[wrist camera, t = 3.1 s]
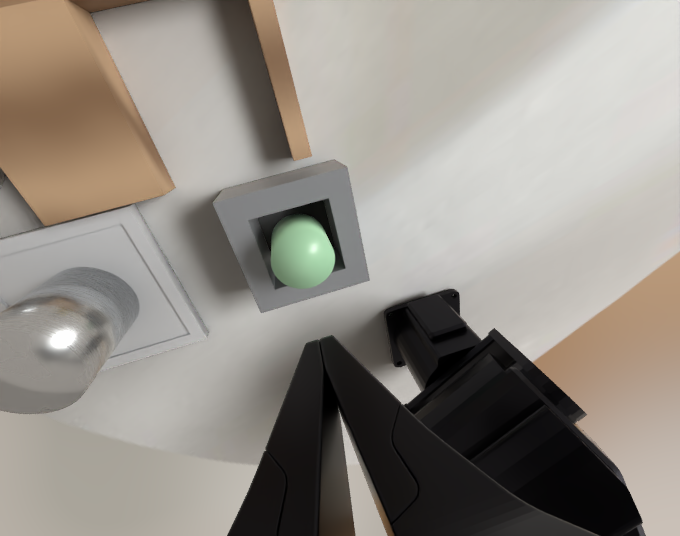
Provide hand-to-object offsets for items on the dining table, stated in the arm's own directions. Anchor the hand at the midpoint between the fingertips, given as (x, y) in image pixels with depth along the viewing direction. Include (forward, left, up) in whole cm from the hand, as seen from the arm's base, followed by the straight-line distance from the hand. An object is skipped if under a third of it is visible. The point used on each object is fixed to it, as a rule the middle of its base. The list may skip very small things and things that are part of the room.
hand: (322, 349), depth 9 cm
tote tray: (-1, +13, -12) cm, 18 cm away
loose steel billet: (-1, +13, -11) cm, 18 cm away
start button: (0, 0, -9) cm, 9 cm away
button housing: (0, 0, -12) cm, 12 cm away
